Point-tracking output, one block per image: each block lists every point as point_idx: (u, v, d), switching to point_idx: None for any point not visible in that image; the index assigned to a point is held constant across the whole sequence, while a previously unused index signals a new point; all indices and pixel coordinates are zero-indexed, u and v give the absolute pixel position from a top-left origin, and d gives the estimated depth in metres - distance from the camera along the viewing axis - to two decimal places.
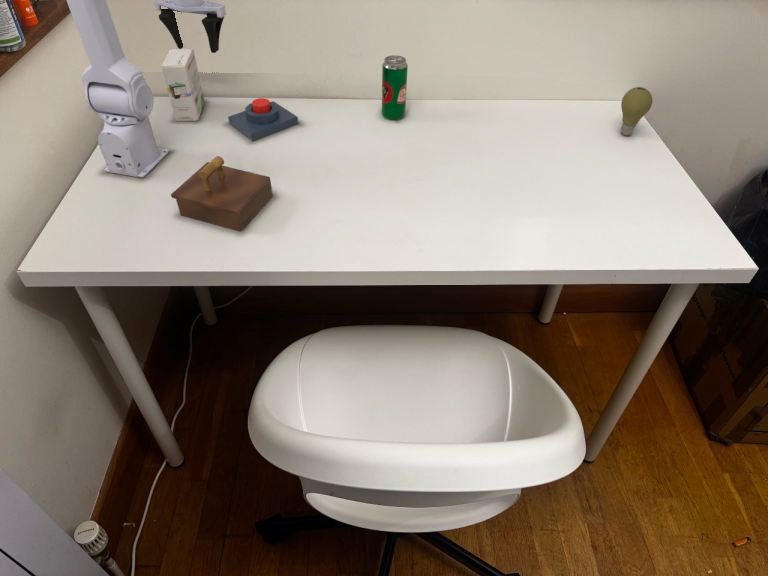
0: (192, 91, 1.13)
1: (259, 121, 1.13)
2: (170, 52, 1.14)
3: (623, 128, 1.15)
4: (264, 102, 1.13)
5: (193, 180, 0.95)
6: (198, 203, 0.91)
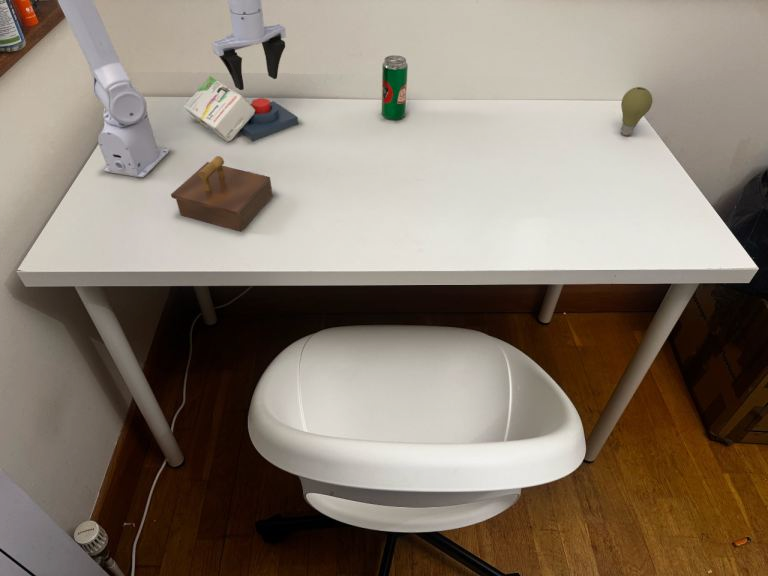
0: None
1: (259, 121, 1.13)
2: (237, 103, 1.08)
3: (623, 128, 1.15)
4: (264, 102, 1.13)
5: (193, 180, 0.95)
6: (198, 203, 0.91)
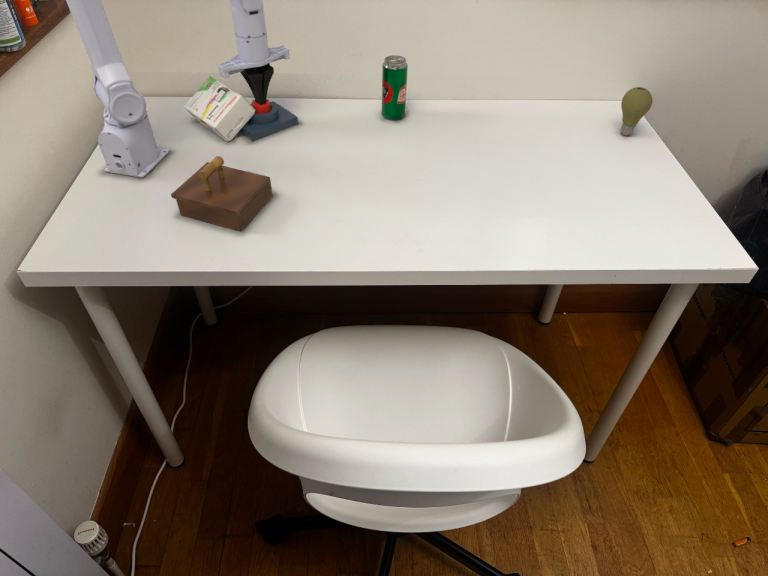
0: None
1: (259, 121, 1.13)
2: (237, 103, 1.08)
3: (623, 128, 1.15)
4: None
5: (193, 180, 0.95)
6: (198, 203, 0.91)
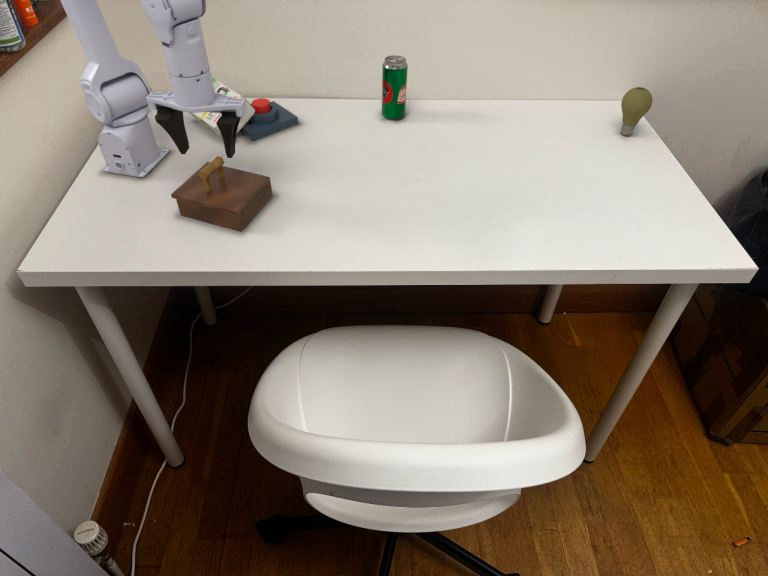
0: None
1: (259, 121, 1.13)
2: None
3: (623, 128, 1.15)
4: (264, 102, 1.13)
5: (193, 180, 0.95)
6: (198, 203, 0.91)
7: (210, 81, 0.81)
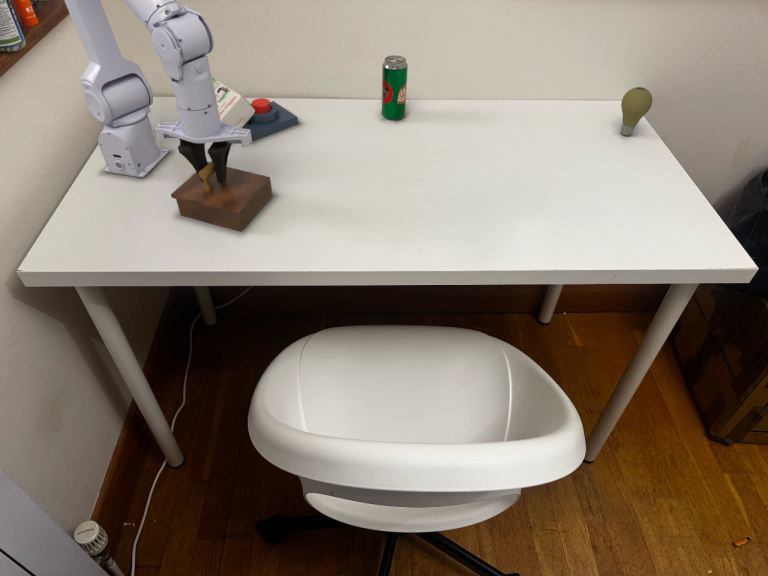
0: None
1: (259, 121, 1.13)
2: (237, 103, 1.08)
3: (623, 128, 1.15)
4: (264, 102, 1.13)
5: (193, 180, 0.95)
6: (198, 203, 0.91)
7: (217, 113, 0.85)
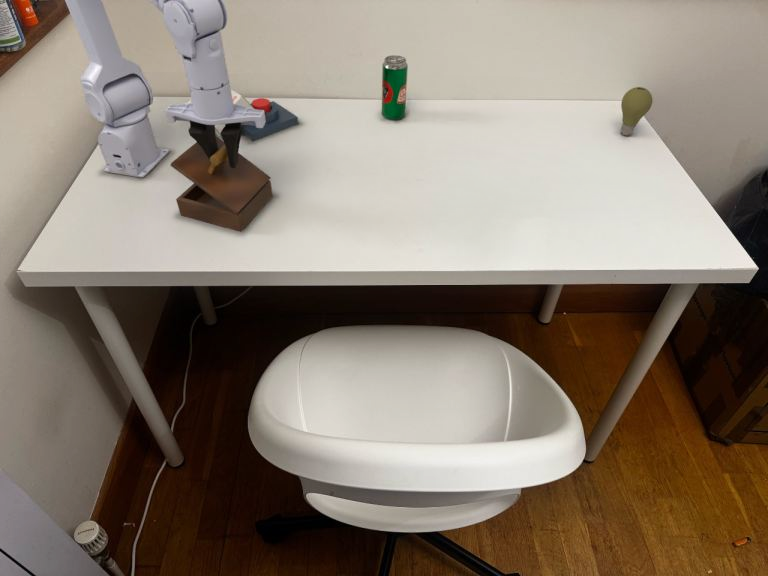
0: None
1: None
2: (237, 103, 1.08)
3: (623, 128, 1.15)
4: (264, 102, 1.13)
5: (195, 152, 0.90)
6: (199, 185, 0.88)
7: (230, 93, 0.82)
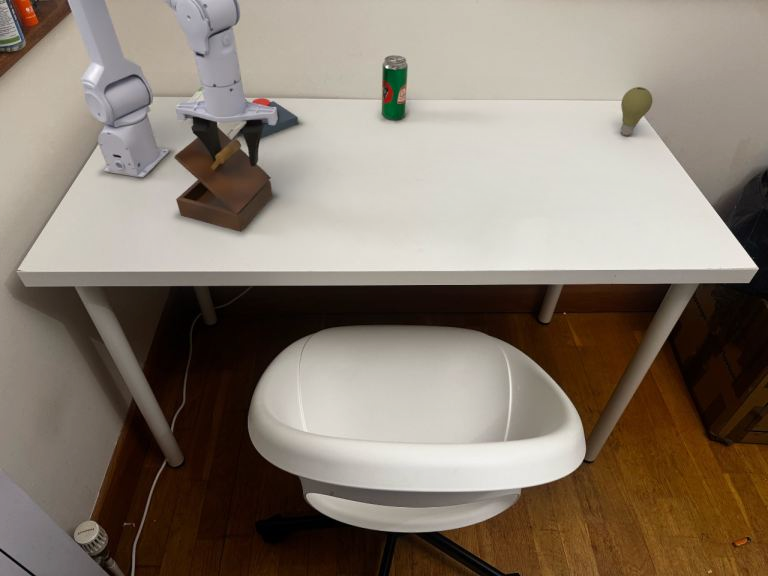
0: None
1: None
2: None
3: (623, 128, 1.15)
4: (264, 102, 1.13)
5: (199, 146, 0.89)
6: (201, 181, 0.87)
7: (242, 90, 0.81)
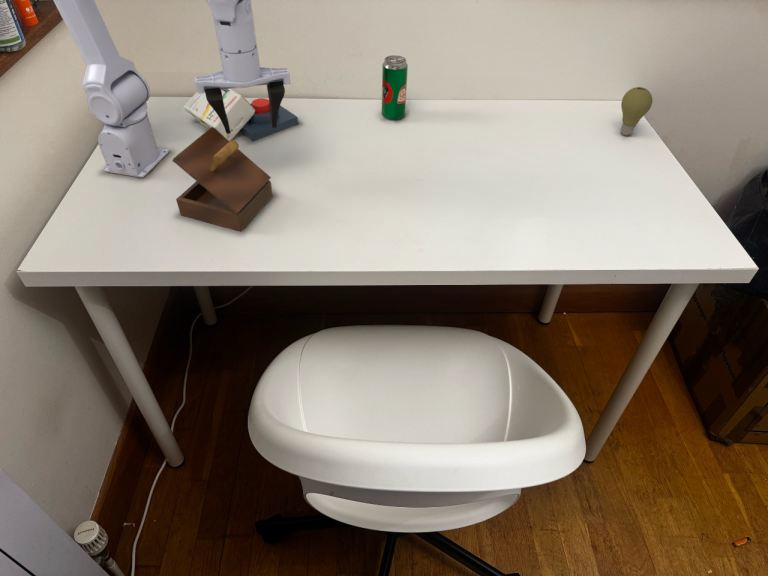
0: None
1: (259, 121, 1.13)
2: (237, 103, 1.08)
3: (623, 128, 1.15)
4: (264, 102, 1.13)
5: (197, 148, 0.89)
6: (200, 182, 0.87)
7: None
